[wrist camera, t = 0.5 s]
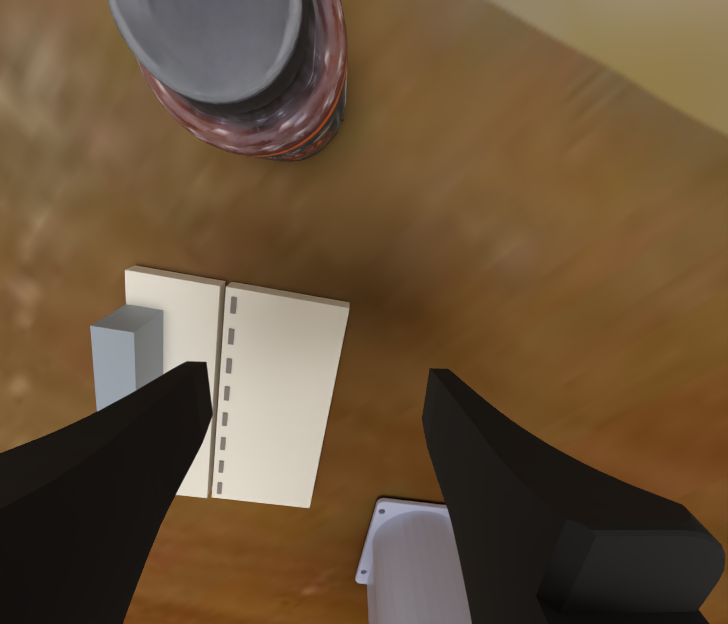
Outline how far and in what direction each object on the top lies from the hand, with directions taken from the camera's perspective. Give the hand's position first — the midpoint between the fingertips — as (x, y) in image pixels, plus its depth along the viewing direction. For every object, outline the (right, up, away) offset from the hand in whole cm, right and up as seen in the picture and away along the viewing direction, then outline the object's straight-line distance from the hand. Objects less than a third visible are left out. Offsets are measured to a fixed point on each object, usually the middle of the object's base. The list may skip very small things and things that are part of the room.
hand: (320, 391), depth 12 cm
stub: (-11, -2, +12) cm, 16 cm away
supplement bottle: (-2, +13, +6) cm, 15 cm away
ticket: (-4, -4, +12) cm, 14 cm away
